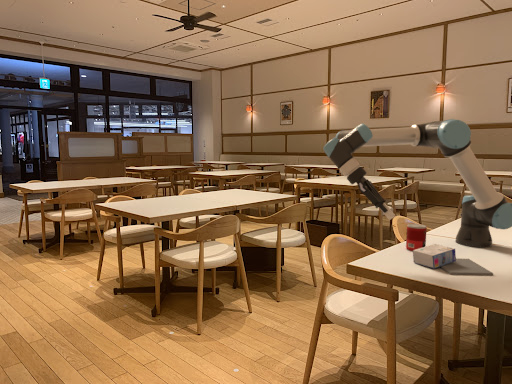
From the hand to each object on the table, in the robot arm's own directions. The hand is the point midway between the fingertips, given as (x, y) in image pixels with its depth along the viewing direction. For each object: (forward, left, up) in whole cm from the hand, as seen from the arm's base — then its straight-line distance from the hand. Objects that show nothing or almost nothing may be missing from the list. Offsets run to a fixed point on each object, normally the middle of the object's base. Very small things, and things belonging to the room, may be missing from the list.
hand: (392, 217), depth 154 cm
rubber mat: (-25, +5, -18) cm, 31 cm away
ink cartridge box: (-11, +5, -15) cm, 19 cm away
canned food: (-17, -20, -18) cm, 31 cm away
